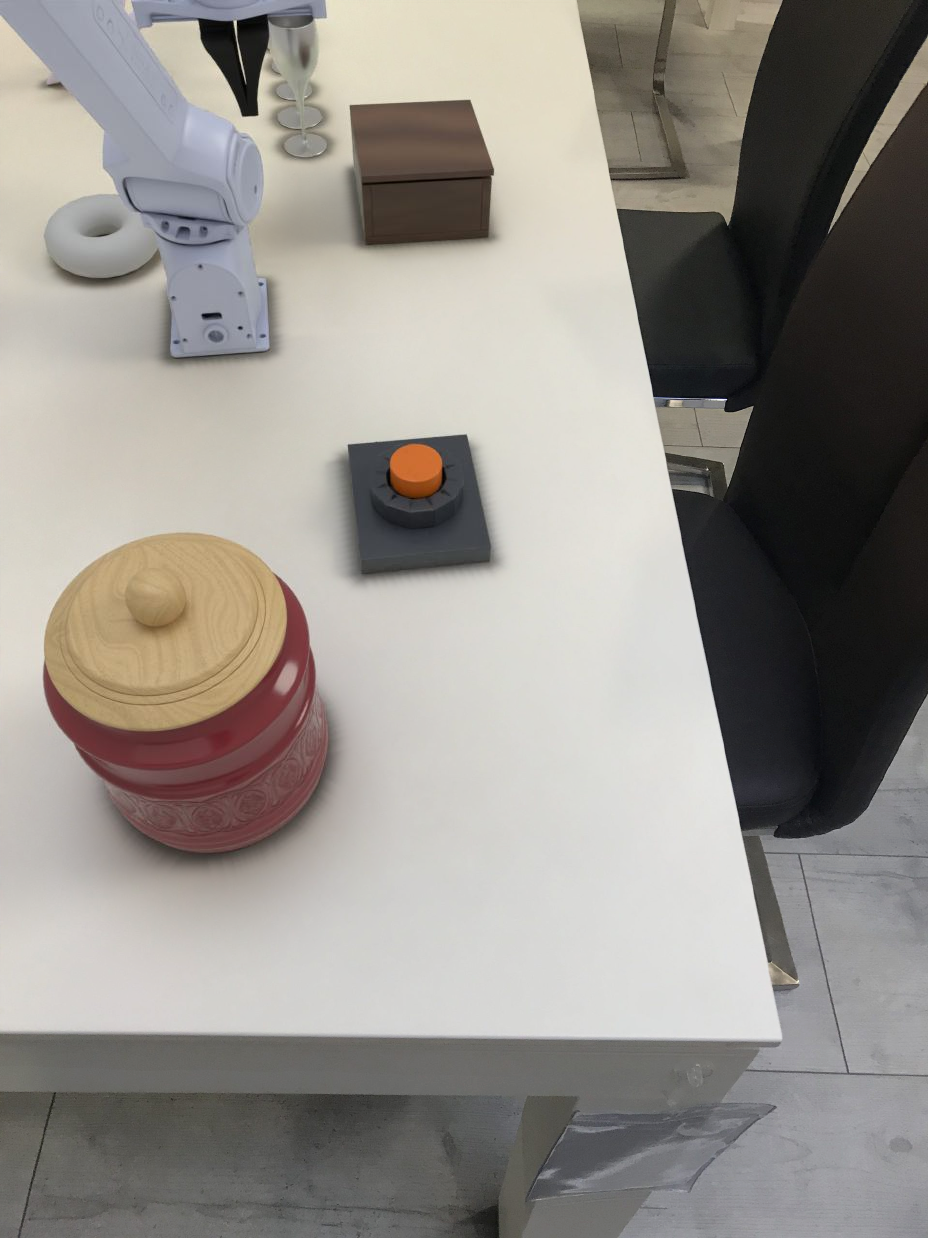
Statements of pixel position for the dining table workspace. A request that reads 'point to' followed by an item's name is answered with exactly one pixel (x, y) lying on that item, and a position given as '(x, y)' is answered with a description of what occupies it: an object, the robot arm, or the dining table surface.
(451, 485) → the control block
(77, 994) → the dining table surface
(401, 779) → the dining table surface
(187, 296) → the robot arm
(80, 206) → the donut
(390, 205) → the brown wooden box
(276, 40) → the goblet set
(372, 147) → the lid
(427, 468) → the button
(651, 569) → the dining table surface
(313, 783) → the kitchen canister
